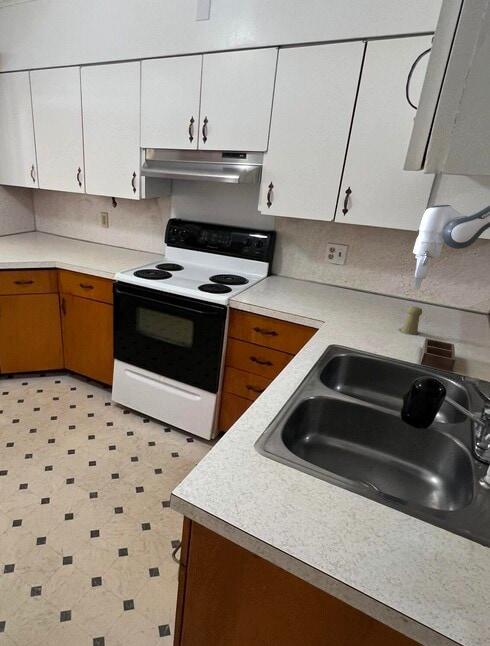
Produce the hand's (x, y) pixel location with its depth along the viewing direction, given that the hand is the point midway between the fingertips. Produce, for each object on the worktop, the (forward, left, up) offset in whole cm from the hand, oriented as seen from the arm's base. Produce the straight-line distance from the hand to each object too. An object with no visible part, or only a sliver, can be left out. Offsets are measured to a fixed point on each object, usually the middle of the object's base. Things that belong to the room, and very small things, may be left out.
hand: (416, 285), depth 163 cm
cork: (-2, -8, -21) cm, 23 cm away
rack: (-12, +19, -21) cm, 31 cm away
